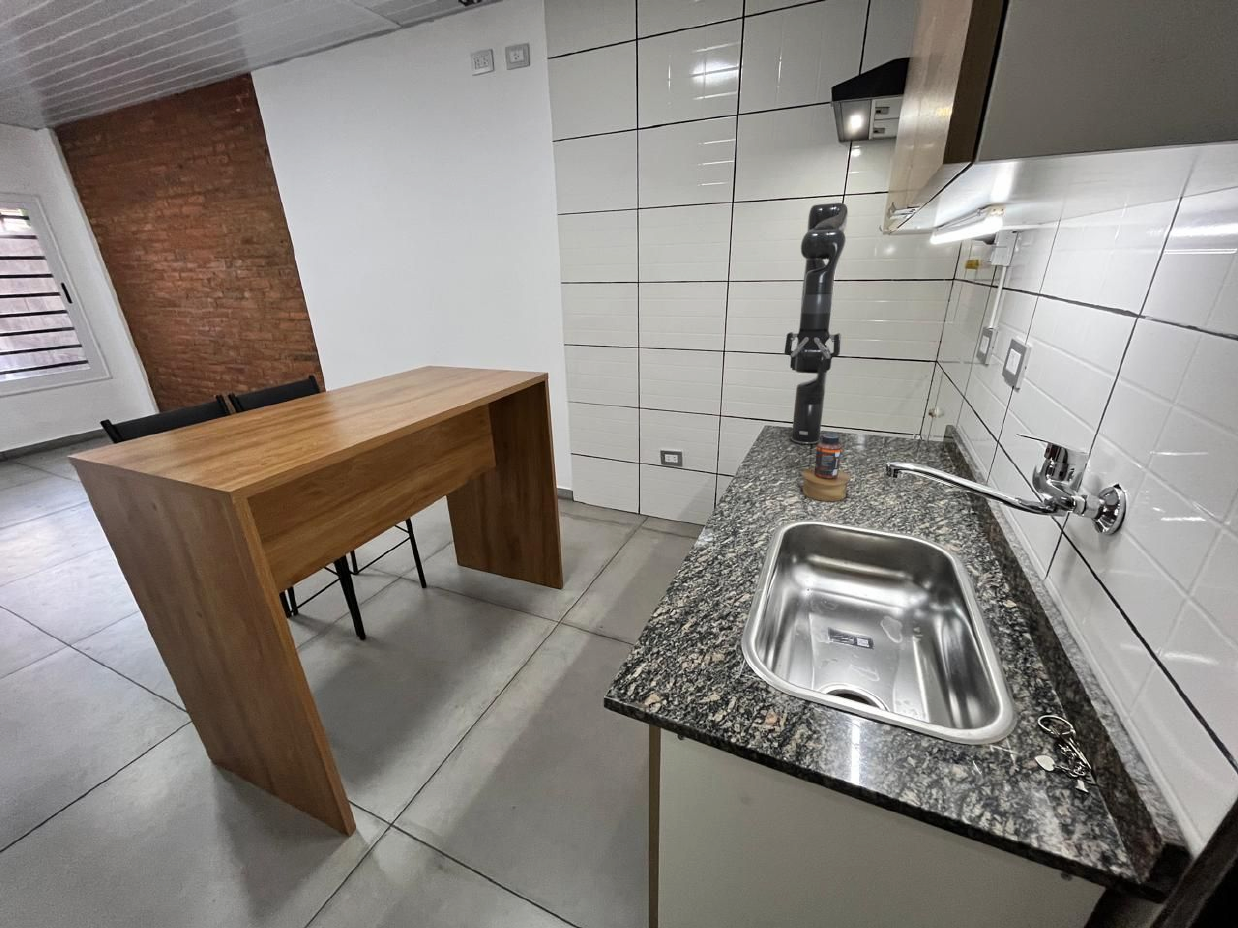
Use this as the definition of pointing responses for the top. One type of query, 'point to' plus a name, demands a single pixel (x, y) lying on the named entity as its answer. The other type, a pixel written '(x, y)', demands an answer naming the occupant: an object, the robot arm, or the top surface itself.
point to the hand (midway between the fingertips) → (809, 370)
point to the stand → (825, 486)
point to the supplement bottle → (828, 456)
